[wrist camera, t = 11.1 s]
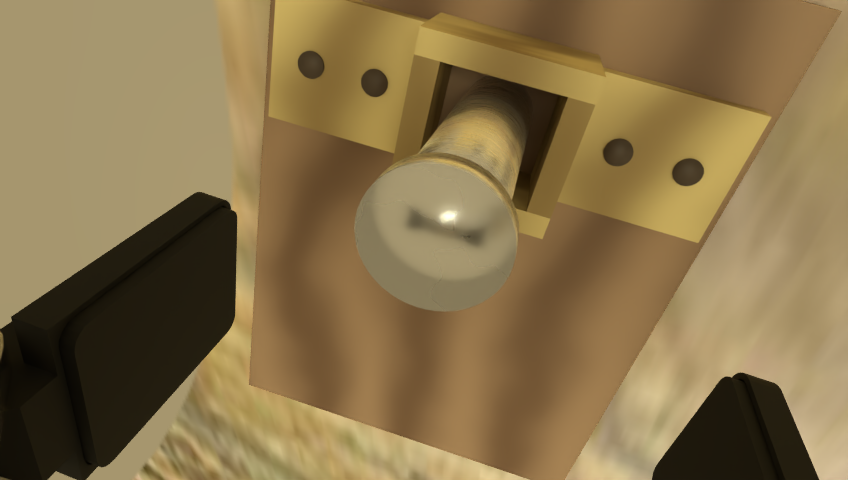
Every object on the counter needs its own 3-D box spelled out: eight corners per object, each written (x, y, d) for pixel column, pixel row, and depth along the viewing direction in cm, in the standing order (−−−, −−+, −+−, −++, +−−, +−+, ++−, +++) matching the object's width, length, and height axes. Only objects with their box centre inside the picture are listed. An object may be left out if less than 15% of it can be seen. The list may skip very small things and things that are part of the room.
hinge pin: (554, 78, 23) (539, 192, 12) (526, 164, 25) (490, 331, 14) (464, 54, 23) (367, 142, 12) (444, 140, 25) (344, 283, 14)
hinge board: (827, 7, 20) (901, 27, 16) (558, 473, 36) (558, 548, 32) (291, -130, 22) (224, -146, 18) (257, 372, 38) (217, 430, 33)
